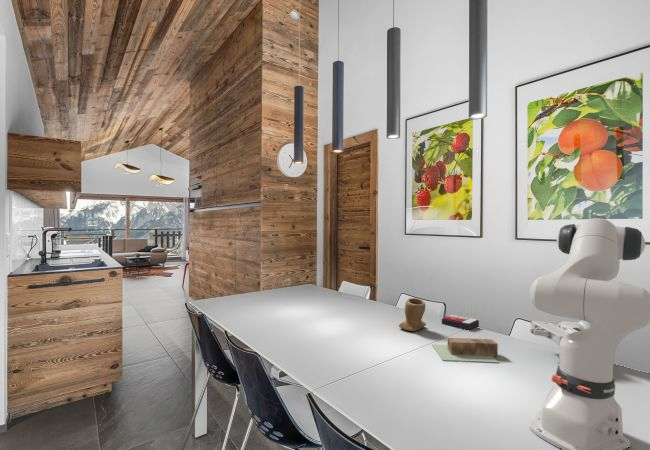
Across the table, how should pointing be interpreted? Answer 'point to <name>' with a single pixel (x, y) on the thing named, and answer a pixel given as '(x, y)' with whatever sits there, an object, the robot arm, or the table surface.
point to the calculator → (460, 322)
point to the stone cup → (413, 314)
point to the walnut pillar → (472, 347)
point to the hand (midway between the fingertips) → (532, 331)
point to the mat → (461, 356)
